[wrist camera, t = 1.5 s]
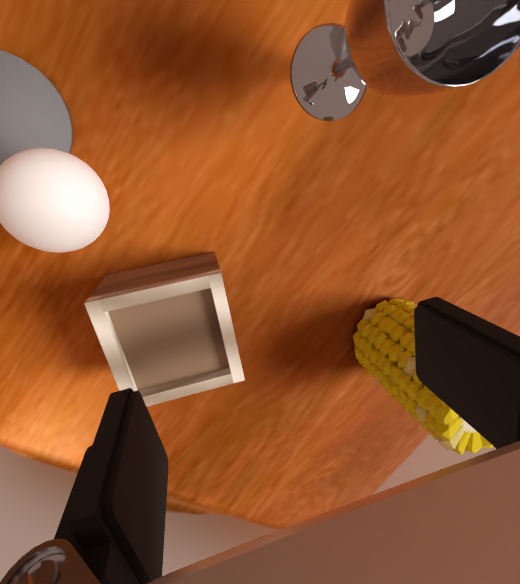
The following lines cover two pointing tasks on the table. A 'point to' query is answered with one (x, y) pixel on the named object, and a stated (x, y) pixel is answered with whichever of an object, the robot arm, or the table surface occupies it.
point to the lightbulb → (52, 200)
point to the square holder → (167, 328)
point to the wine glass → (402, 51)
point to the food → (408, 373)
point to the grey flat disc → (30, 110)
